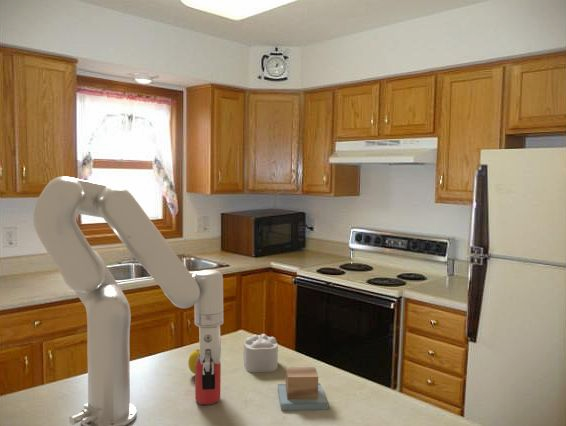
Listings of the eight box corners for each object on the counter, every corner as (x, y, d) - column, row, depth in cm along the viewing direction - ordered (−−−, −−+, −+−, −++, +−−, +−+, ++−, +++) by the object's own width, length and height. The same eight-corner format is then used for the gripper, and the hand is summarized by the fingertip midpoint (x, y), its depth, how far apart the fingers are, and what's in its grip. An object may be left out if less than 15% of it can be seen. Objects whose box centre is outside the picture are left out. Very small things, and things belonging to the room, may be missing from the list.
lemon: (205, 379, 141) (205, 352, 140) (186, 378, 141) (186, 352, 140) (208, 371, 146) (208, 346, 146) (190, 371, 146) (190, 345, 146)
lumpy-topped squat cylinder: (246, 373, 146) (246, 345, 145) (241, 356, 159) (241, 331, 158) (279, 371, 148) (280, 343, 147) (272, 355, 161) (273, 329, 160)
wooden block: (317, 398, 127) (318, 376, 126) (287, 399, 126) (287, 377, 126) (314, 387, 133) (314, 366, 133) (285, 388, 133) (285, 367, 132)
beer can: (225, 400, 128) (225, 356, 127) (205, 408, 124) (206, 362, 123) (209, 392, 133) (210, 349, 132) (190, 399, 128) (190, 355, 127)
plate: (281, 410, 123) (281, 404, 123) (277, 389, 135) (277, 383, 135) (327, 409, 124) (327, 403, 124) (320, 388, 136) (320, 383, 136)
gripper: (222, 328, 118) (222, 395, 120) (224, 307, 135) (225, 366, 137) (191, 328, 118) (192, 396, 119) (197, 308, 135) (198, 367, 136)
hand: (210, 380), depth 128 cm, fingers open, 9 cm apart
